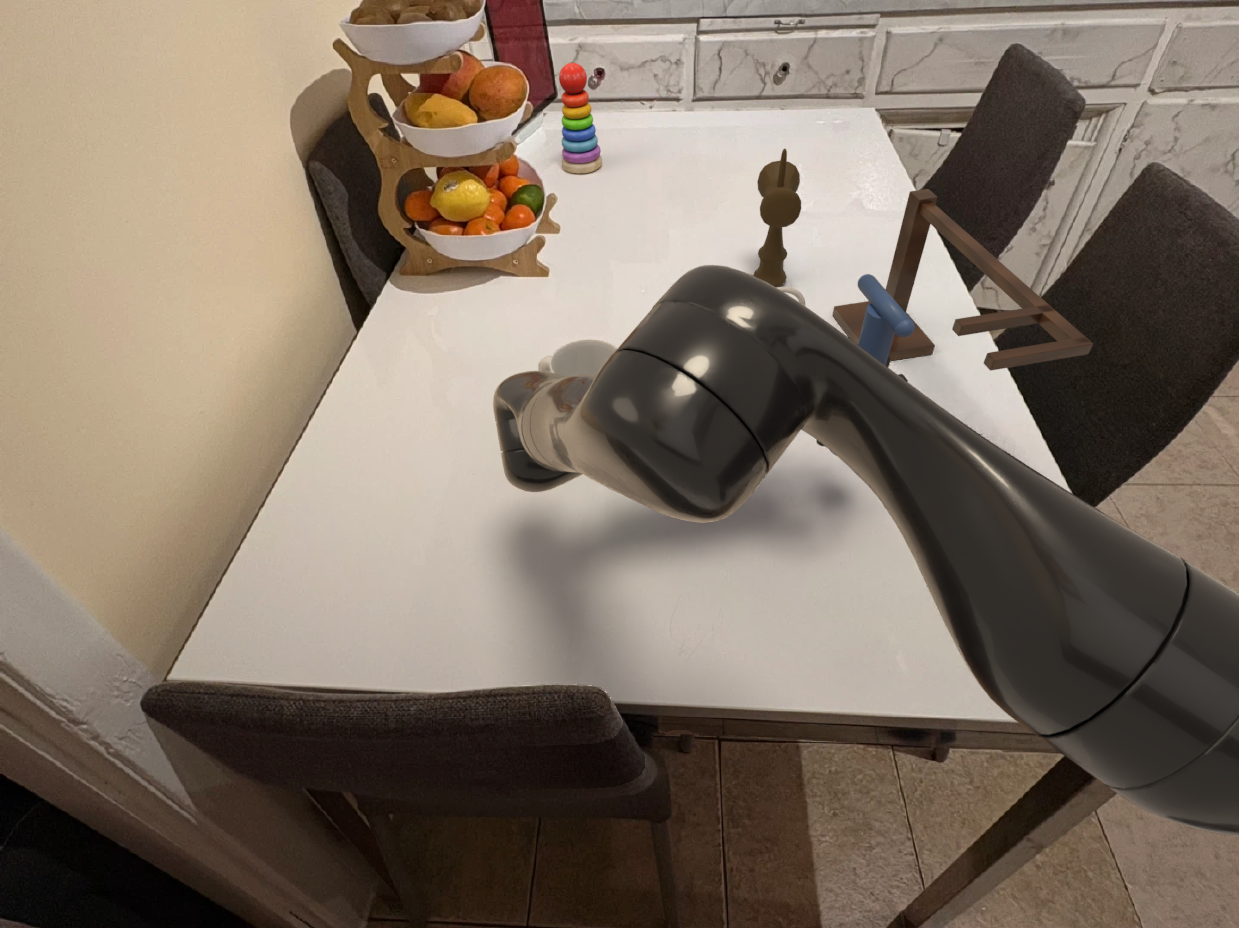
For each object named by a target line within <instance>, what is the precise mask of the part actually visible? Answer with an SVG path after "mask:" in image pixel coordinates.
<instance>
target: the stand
mask: <svg viewBox="0 0 1239 928" xmlns="http://www.w3.org/2000/svg"><path fill="white" fill-rule="evenodd" d="M938 199H939V197H938V196H937V195H936V194H935V193H934V192H933V191H931V190H930V189H929V188H925V189H917V190H911V191H909V194H908V197H907V201H906V205H905V210H904V213H903V218H902V221H901V226H900V230H899V233H898V238H897V242H896V246H895V249H894V253H893V258H892V263H891V266H890V269H889V274H888V277H887V282H886V286H885V290H886V291H887V292H888V293H889V294H890V296H891V297H892V298H893V299H894V300H895V301H896V302H897V304H898V305H899V306H900V307H901V308H902V309H903V311H904V312H905V313H906V314H907V315H908V316H909V317H910V319H911V320H912V321H913V322H914V325H915V329H914V332H913V333H912V334H911V335H910V336H908V337H905V338H903V337H899V336H897V335H896V334H894V338H893V341H892V345H891V349H890V352H889V357H890V358H891V360H890V362H892V361H900V360H907V359H911V358H918V357H923V356H930V355H933V353H934V350H935V347H936V345H935V343H934V342H933V341H932V340H931V338H929V336H928V335H927V334H926V333H925V332H924V330H923V329H921V327H920V326H919V325H918V324H917V323H916V321H915V320H914V319H913V318H912V317H911V316H910V314H909V313H908V312H907V310H908V308H909V307H908V306H909V304H910V303H909V302H910V300H911V296H912V292H913V288H914V285H915V281H916V278H917V275H918V270H919V268H920V264H921V259H922V256H923V253H924V250H925V249H924V248H925V245H926V241H927V238H928V235H929V231H930V227H933V228H934V229H936V231H938V232H939V233H940V234H941V235H942V236H943V237H944V238H945V239H946V240H947V241H948V242H950V243H951V245H953V246H954V247H955V248H956V249H957V250H958V251H959V252H960V253H961V254H962V255H963V256H965V257H966V258H967V259H968V260H969V261H970V262H971V263H972V264H973V265H974V266H976V267H977V269H979V270H980V271H981V272H982V273H983V274H984V275H985V276H986V277H987V278H988V279H990V280H991V282H993V284H994V285H996V286H997V287H998V288H999V289H1001V291H1003V293H1005V294H1006V296H1008V297H1009V298H1010V299H1011V300H1012V301H1013V302H1014V303H1016V305H1018V306H1019V307H1020V308H1016V309H1010V310H1005V311H998V312H991V313H986V314H980V315H979V314H978V315H972V316H967V317H960V318H955V319H954V323H953V325H952V328H951V330H952V331H953V332H954V333H955V335H956V336H958V337H962V336H968V335H976V334H980V333H988V332H994V331H999V330H1005V329H1012V328H1019V327H1025V326H1030V325H1031V326H1032V325H1037V324H1038V325H1039V326H1040V327H1042V328H1043V329H1044V330H1045V331H1046V332H1047V333H1048V334H1049V335H1050V336H1051V337H1052V338H1053V339H1055V340H1056V341H1051V342H1044V343H1040V344H1034V345H1033V344H1032V345H1027V346H1021V347H1015V348H1009V349H1002V350H997V351H990V352H987V353H986V356H985V358H984V361H983V364H984V366H985V367H986V368H987V369H988V370H989V371H998V370H1003V369H1009V368H1015V367H1022V366H1027V365H1032V364H1038V363H1045V362H1050V361H1051V362H1052V361H1057V360H1062V359H1068V358H1074V357H1081V356H1086V355H1087V356H1088V355H1089V354H1090V352H1091V349H1092V347H1093V346H1094V343H1093V342H1092V341H1091V340H1090V339H1088V337H1086V336H1085V335H1084V334H1083V333H1082V332H1081V331H1080V330H1079V329H1077V328H1076V327H1075V326H1074V325H1073V324H1071V323H1070V321H1068V320H1067V319H1066V318H1065V317H1064V316H1063V315H1061V314H1060V313H1059V312H1057V310H1055V308H1053V307H1052V306H1051V305H1050V304H1049V303H1047V302H1046V301H1045V300H1044V299H1043V298H1042V297H1041V296H1040V295H1039V294H1038V293H1036V292H1035V291H1034V290H1033V289H1032V288H1030V287H1029V286H1028V285H1027V283H1025V282H1024V281H1023V280H1022V279H1021V278H1019V277H1018V276H1017V275H1016V274H1015V273H1013V271H1011V270H1010V269H1009V268H1008V267H1007V266H1006V265H1004V264H1003V263H1002V262H1001V261H1000V260H999V259H998V258H997V257H995V256H994V255H993V254H992V253H991V252H990V251H989V250H987V249H986V248H985V247H984V246H983V245H982V244H981V243H979V241H977V240H976V239H975V238H973V237H972V236H971V235H970V234H969V233H968V232H967V231H966V230H965V229H963V227H961V226H960V225H959V224H958V223H957V222H956V221H954V220H953V219H952V218H951V217H950V216H949V215H948V214H947V213H945V211H943V210H941V208H940V207H938V206H937V202H938ZM869 304H870V302H869V301H868V300H866V301H860V302H854V303H847V304H840V305H834V306H833V311H832V316H833V318H834V319H835V321H836V322H837V323H838V325H839V326H840V327H841V329H842V331H844V333H845V335H846V336H847V337H848V338H849V339H851V340H852V341H853V342H855V343H856V344H857V345H858V342H859V337H860V333H861V329H862V325H863V321H864V317H865V312H866V308H867V306H868V305H869Z"/></svg>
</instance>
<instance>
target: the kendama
mask: <svg viewBox="0 0 1239 928" xmlns="http://www.w3.org/2000/svg"><path fill="white" fill-rule="evenodd" d="M800 176H801V175H800V172H799V170H798V167H797V166H796V165H795V164H794V163H792V162H790V161H788V151H787V149H786V148H783V149H782V151H781V155H780V160H775V161H771V162H769V163H768V164H766V165H764V166H763V167H762V169H761V170H760V172H759V174H758V178H757V190H758V192H759V194H760V196H761V197H762V199H761V201H760V206H759V214H760V215H759V216H760V218H761V219H762V221H763V223H764V224H766V225H767V226H768V230H767V234H766V238H765V240H764V243H763V245H762V246H761V247H760V248H759V249H758V251H757V256H758V258H759V264H758V267H757V269H755V270H754V272H753V274H752V275H753V276H755V277H757V278H759V279H761V280H763V281H765V282H767V283H769V284H771V285H772V286H774V287H776V288H777V287H781V286H783V285H784V284H785V283H786V281H787V277H788V276H787V273H786V271H785V270H784V261H785V260H786V259H787V257H788V251H787V249H786V248H785V246H784V238H783V228H787V227H789V226H791V225H793V224H794V223H795V222H796V221H797V220H798V218H799V217H800V214H801V211H802V200H801V197H800V195H799V194H798V193H797V192H798V189H799V187H800V183H801V177H800Z"/></svg>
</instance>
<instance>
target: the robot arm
mask: <svg viewBox="0 0 1239 928" xmlns="http://www.w3.org/2000/svg"><path fill="white" fill-rule="evenodd" d="M753 275H754V274H751V273H748V272H745V271H742V270H739V269H736V268H732V267H730V266H726V265H717V264H704V265H700V266H696V267H694V268H691V269H689V270H688V271H686V272H685V273H684V274H683V275H682V276H680V277H679V278H678V279H677V280H676V281H675V282H674V283H673V284H672V285H671V286H670V287H669V288H668V289H667V291H666V292H665V293H663V295H662V296H661V297H660V298H659V299H658V300H657V301H656V303H654V305H653V306H652V308H651V309H650V311H649V312H648V313H647V314H646V315H645V316H644V318H642V320H641V321H640V322H639V323H638V324H637V325H636V327H634V329H633V330H632V331H631V332H630V334H629V335H628V336H627V337H626V338H625V339H624V341H623V342H622V343H621V344H620V345H619V346H618V347H617V350H616V351H615V352H614V353H613V354H612V355H611V356H610V357H609V358H608V359H607V361H606V362H605V363H604V364H603V365H602V367H601V368H600V370H599V371H598V373H597V375H596V376H594V375H585V374H580V375H572V376H568V377H564V376H562V375H559V374H556V373H552V372H546V371H539V370H528V371H527V370H526V371H522V372H518V373H515V374H513V375H510V376H508V377H507V378H505V379H503V380H502V381H501V382H500V383H499V384H498V385H497V387H496V388H495V390H494V393H493V398H492V408H493V415H494V422H495V426H496V427H495V428H496V433H497V439H498V444H499V450H500V456H501V462H502V463H501V464H502V469H503V472H504V475H505V477H506V478H505V479H506V480H507V481H508V483H509V484H511V485H512V486H513V487H514V488H517V489H519V490H521V491H524V492H529V493H543V492H547V491H551V490H553V489H555V488H558V487H560V486H563V485H565V484H566V483H569V482H571V481H573V480H575V479H576V478H580V477H581V476H585V477H587V478H589V479H591V480H592V481H594V482H596V483H598V484H599V485H601V486H604V487H605V488H607V489H608V490H609V489H610V490H611V491H614V492H615V493H618V494H619V495H622V496H624V497H626V498H628V499H630V500H632V501H634V502H636V503H638V504H640V505H642V506H645V507H647V508H649V509H651V510H652V511H655V512H657V513H659V514H662V515H664V516H667V517H671V518H674V519H677V520H681V521H686V522H692V523H702V524H703V523H704V524H706V523H712V522H713V523H714V522H718V521H722V520H724V519H726V518H728V517H729V516H732V515H733V513H735V512H736V511H738V509H739V508H740V507H741V506H743V505H744V503H745V502H746V501H747V500H748V499H749V498H751V496H752V495H753V494H754V492H755V491H756V489H758V487H759V486H760V484H761V483H762V481H763V480H764V479H765V478H766V476H767V475H768V474H769V473H770V471H771V470H772V469H773V467H774V466H775V465H776V463H777V462H778V461H779V459H780V458H781V457H782V456H783V454H784V453H785V451H786V450H787V449H788V447H790V445H791V443H792V442H794V440H795V438H796V437H797V436H798V435H799V433H800V432H801V431H803V432H805V433H806V434H808V435H809V436H810V437H812V438H813V439H815V441H816V444H817V445H818V446H820V447H825V448H827V449H828V450H829V451H830V450H831V451H832V452H833V453H834V454H833V453H832V452H831V451H830V452H831V453H832V454H833V455H835V456H836V455H837V456H836V457H838V458H839V459H840V460H841V461H842V462H843V463H844V464H845V465H846V466H847V467H849V469H850V470H851V471H852V472H854V474H855V475H856V476H857V477H858V478H859V479H861V480H862V481H863V483H865V484H866V485H867V486H868V488H869V489H870V490H871V491H872V493H874V494H875V496H876V497H877V498H878V499H879V501H880V502H881V504H882V505H883V507H884V509H885V510H886V511H887V512H888V514H889V516H890V517H891V519H892V520H893V522H894V524H895V525H896V527H897V529H898V530H899V532H900V534H901V536H902V537H903V540H904V541H905V544H906V545H907V547H908V549H909V551H910V553H911V555H912V557H913V559H914V561H915V563H916V565H917V567H918V569H919V572H920V574H921V576H922V578H923V580H924V582H925V585H926V587H927V590H928V592H929V594H930V595H931V598H932V600H933V602H934V604H935V606H936V609H937V610H938V612H939V614H940V617H941V619H942V621H943V623H944V625H945V628H946V629H947V631H948V633H949V635H950V637H951V639H952V641H953V643H954V645H955V647H956V649H957V651H958V653H959V655H960V656H961V658H962V660H963V661H964V663H965V665H966V666H967V669H968V670H969V672H970V673H971V675H972V676H973V677H974V679H975V680H976V682H977V683H978V685H979V686H980V687H981V689H982V690H983V691H984V692H985V694H986V695H987V696H988V697H989V699H990V700H992V702H993V703H994V704H996V705H997V706H998V707H999V708H1000V709H1001V710H1002V711H1003V712H1004V713H1005V714H1006V715H1008V716H1009V717H1010V718H1012V719H1013V720H1014V721H1016V722H1017V723H1018V724H1020V725H1021V726H1022V727H1024V728H1025V729H1026V730H1027V731H1029V732H1031V733H1032V734H1033V735H1035V736H1036V737H1037V738H1039V739H1040V740H1041V741H1043V742H1044V743H1046V744H1047V745H1049V747H1051V748H1052V749H1054V750H1055V751H1057V752H1058V753H1060V754H1061V755H1063V756H1064V757H1065V758H1067V759H1068V760H1070V762H1072V763H1074V764H1075V765H1077V766H1078V767H1079V768H1080V769H1082V770H1083V771H1085V772H1086V773H1088V774H1089V775H1091V776H1092V777H1093V778H1094V779H1096V780H1097V781H1099V782H1100V783H1102V784H1103V785H1104V786H1106V787H1107V788H1109V789H1110V790H1111V791H1113V792H1114V793H1115V794H1117V795H1119V796H1120V797H1122V798H1123V799H1125V800H1126V801H1128V802H1129V803H1131V804H1133V805H1134V806H1136V807H1138V808H1140V809H1142V810H1143V811H1145V812H1147V813H1150V814H1152V815H1154V816H1157V817H1159V818H1163V819H1165V820H1167V821H1169V822H1172V823H1175V824H1178V825H1181V826H1183V827H1188V828H1191V829H1194V830H1197V831H1203V832H1207V833H1212V834H1216V835H1217V834H1218V835H1222V836H1223V835H1224V836H1230V837H1236V838H1239V592H1238V591H1236V590H1235V589H1233V588H1231V587H1230V586H1228V585H1226V584H1225V583H1223V582H1221V580H1218V579H1216V578H1215V577H1213V576H1211V574H1208V573H1207V572H1206V571H1203V570H1202V569H1200V568H1199V567H1197V566H1195V565H1194V564H1192V563H1191V562H1189V561H1188V560H1186V559H1184V558H1182V557H1180V556H1179V555H1177V554H1176V553H1174V552H1173V551H1171V550H1169V549H1167V548H1166V547H1164V546H1162V545H1160V544H1158V543H1157V542H1155V541H1154V540H1151V539H1150V538H1148V537H1146V536H1144V535H1143V534H1141V533H1139V532H1137V531H1136V530H1133V529H1132V528H1130V527H1129V526H1127V525H1125V524H1123V523H1122V522H1120V521H1118V520H1116V518H1114V517H1112V516H1110V515H1108V514H1106V513H1105V512H1104V511H1102V510H1100V509H1098V508H1096V507H1095V506H1094V505H1091V504H1090V503H1088V502H1087V501H1085V500H1083V498H1080V497H1079V496H1077V495H1075V494H1074V493H1072V492H1071V491H1069V490H1067V489H1066V488H1064V487H1063V486H1061V485H1059V484H1057V482H1055V481H1053V480H1051V479H1050V478H1048V477H1047V476H1045V475H1043V474H1042V473H1040V472H1039V471H1037V470H1036V469H1034V468H1033V467H1031V466H1029V465H1028V464H1026V463H1025V462H1023V461H1022V460H1020V459H1018V458H1017V457H1015V456H1014V455H1012V454H1011V453H1009V452H1007V451H1006V450H1004V449H1003V448H1001V447H999V446H998V445H997V444H996V443H993V442H992V441H990V440H989V439H987V438H986V437H984V436H983V435H982V434H980V433H979V432H977V431H976V430H975V429H973V428H972V427H970V426H969V425H967V424H966V423H965V422H963V421H961V420H960V419H958V418H957V417H956V416H954V415H953V414H952V413H950V412H949V411H948V410H946V409H945V408H943V407H942V406H941V405H940V404H938V403H937V402H935V401H934V400H933V399H931V398H930V397H928V396H927V395H926V394H924V393H923V392H921V391H920V390H919V389H918V388H916V387H915V386H913V385H912V384H911V383H910V382H909V380H908V379H907V377H906V376H905V375H904V374H903V373H896V372H895V371H893V370H892V368H889V367H890V363H891V361H890V360H891V358H890V357H889V356H888V359H887V363H886V366H885V365H884V364H883V363H881V362H880V361H879V360H877V359H876V358H875V357H873V356H872V355H871V354H869V353H868V352H867V351H865V350H864V349H863V348H861V347H860V346H859V345H857V344H856V343H855V342H853V341H852V340H851V339H850V338H849V337H848V335H847V334H844V333H843V332H841V330H839V329H837V328H836V327H835V326H834V325H832V324H831V323H829V322H828V321H826V320H825V319H824V318H823V317H821V316H819V314H817V313H815V312H814V311H813V310H811V309H810V308H809V307H807V306H806V307H805V306H804V305H802V304H801V303H799V301H798V300H797V299H795V298H793V297H792V296H790V294H788V293H786V292H783V291H781V290H779V289H777V287H774V286H772V285H771V284H769V283H767V282H765V281H763V280H761V279H759V278H757V277H755V276H753Z"/></svg>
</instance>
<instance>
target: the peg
mask: <svg viewBox="0 0 1239 928" xmlns="http://www.w3.org/2000/svg"><path fill="white" fill-rule="evenodd" d="M857 288H858V290H859V292H861V293H862V295H863V296H864V297H865V298H866V299H867V301H869V302H870V304H869V305H868V306H867V308H866V312H865V317H864V321H863V325H862V329H861V333H860V337H859V342H858V345H859V346H860V347H861V348H863V349H864V350H865V351H867V352H868V353H869V354H871V355H872V356H873V357H875V358H876V359H877V360H879V361H880V362H881V363H883V364H884V365H885V366H886V363H887V359H888V356H889V352H890V349H891V345H892V341H893V338H894V334H896V335H897V336H899V337H903V338H905V337H908V336H910V335H911V334H912V333H913V332H914V329H915V325H914V322H915V321H914V322H913V321H912V320H911V319H910V317H911V316H910V315H909V314H908V315H909V316H910V317H909V316H908V315H907V314H906V313H905V312H904V311H903V309H902V308H901V307H900V306H899V305H898V304H897V302H896V301H895V300H894V299H893V298H892V297H891V296H890V294H889V293H888V292H887V291H886V288H885V287H884V286H883V285H882V284H881V283H880V281H879V280H878V279H877V278H876V277H875V276H874V275H873V274H870V273H865V274H863V275H861V276H860V277H859V278H858V280H857ZM829 451H830V453H832V454H833V455H835V454H834V453H833V452H832V451H831V450H829ZM835 456H836V457H838V456H837V455H835Z"/></svg>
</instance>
